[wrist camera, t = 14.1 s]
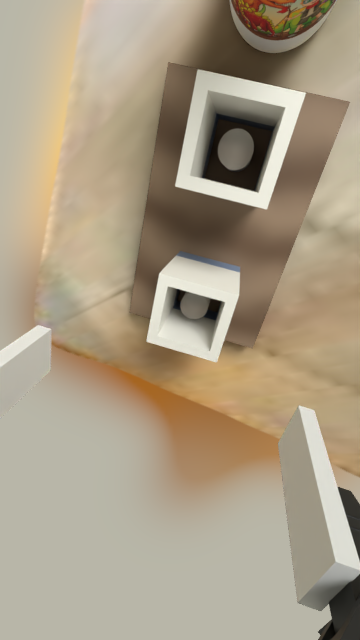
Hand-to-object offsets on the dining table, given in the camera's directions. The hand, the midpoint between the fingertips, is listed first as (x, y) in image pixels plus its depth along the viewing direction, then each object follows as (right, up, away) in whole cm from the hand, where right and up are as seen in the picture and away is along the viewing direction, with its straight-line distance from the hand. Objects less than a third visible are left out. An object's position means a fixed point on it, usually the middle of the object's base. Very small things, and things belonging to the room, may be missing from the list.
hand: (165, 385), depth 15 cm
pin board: (+5, +13, +14) cm, 19 cm away
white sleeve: (+3, +7, +14) cm, 16 cm away
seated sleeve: (+5, +17, +9) cm, 20 cm away
